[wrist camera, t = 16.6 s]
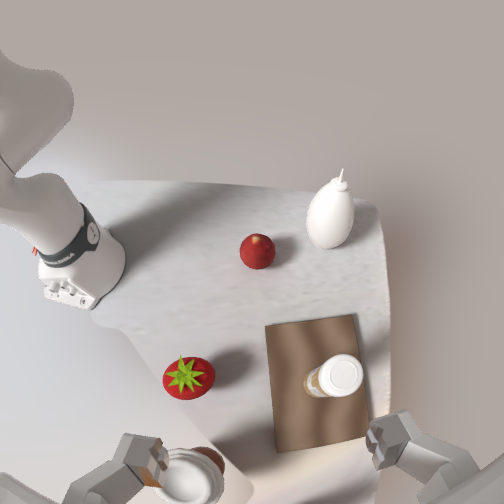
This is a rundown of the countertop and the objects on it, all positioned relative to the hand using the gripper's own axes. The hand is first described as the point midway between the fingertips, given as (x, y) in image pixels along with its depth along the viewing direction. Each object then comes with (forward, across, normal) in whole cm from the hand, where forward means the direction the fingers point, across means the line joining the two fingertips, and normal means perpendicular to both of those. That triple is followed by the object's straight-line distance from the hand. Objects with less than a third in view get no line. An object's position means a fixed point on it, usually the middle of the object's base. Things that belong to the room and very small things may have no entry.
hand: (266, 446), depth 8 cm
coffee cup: (+16, +10, +28) cm, 34 cm away
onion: (+40, -1, +4) cm, 41 cm away
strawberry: (+26, +10, +18) cm, 34 cm away
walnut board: (+25, -8, +20) cm, 33 cm away
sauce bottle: (+42, -13, +2) cm, 45 cm away
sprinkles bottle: (+24, -8, +19) cm, 31 cm away
